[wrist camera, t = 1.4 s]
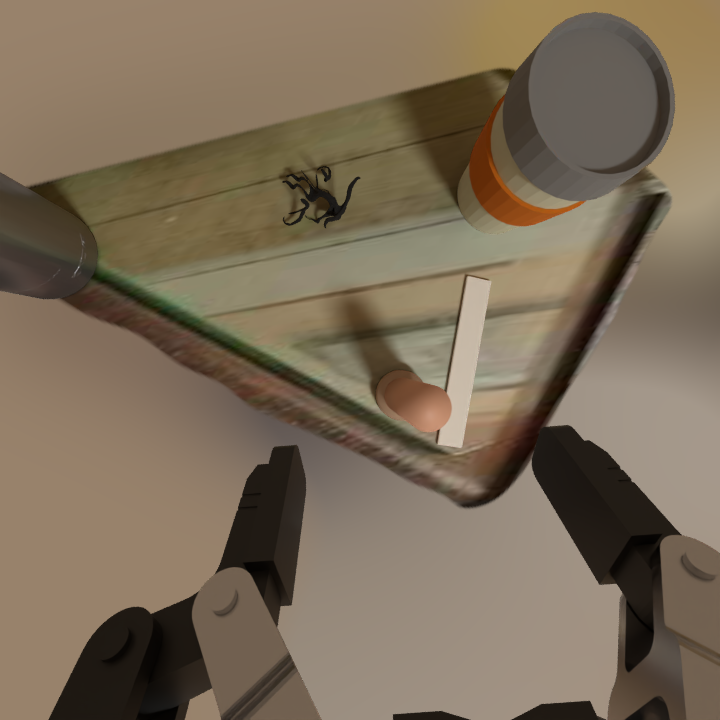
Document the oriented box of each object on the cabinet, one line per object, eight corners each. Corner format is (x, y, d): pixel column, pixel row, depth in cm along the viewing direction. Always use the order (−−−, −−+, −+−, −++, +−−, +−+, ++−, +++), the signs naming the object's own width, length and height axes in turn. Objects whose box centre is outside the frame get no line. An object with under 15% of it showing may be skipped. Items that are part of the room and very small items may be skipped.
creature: (268, 217, 36) (327, 253, 35) (250, 186, 31) (318, 228, 30) (308, 161, 37) (366, 196, 36) (296, 122, 31) (365, 161, 30)
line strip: (436, 443, 38) (437, 444, 38) (466, 276, 38) (467, 275, 38) (460, 447, 38) (461, 448, 38) (489, 281, 38) (491, 281, 38)
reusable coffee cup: (439, 243, 38) (519, 171, 23) (445, 135, 37) (530, -9, 23) (537, 254, 39) (672, 194, 24) (544, 151, 39) (683, 26, 24)
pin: (371, 414, 37) (391, 436, 27) (380, 366, 37) (403, 370, 27) (418, 421, 38) (454, 445, 28) (426, 374, 38) (465, 381, 28)
